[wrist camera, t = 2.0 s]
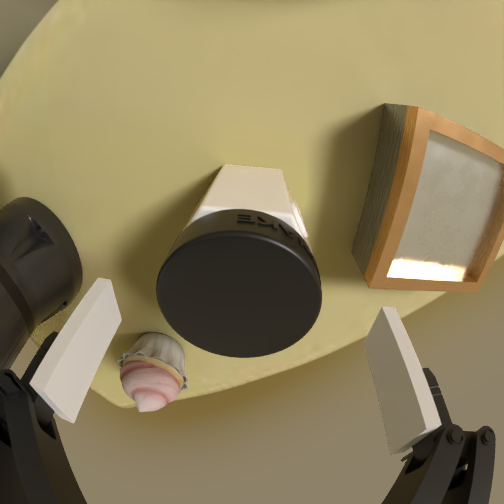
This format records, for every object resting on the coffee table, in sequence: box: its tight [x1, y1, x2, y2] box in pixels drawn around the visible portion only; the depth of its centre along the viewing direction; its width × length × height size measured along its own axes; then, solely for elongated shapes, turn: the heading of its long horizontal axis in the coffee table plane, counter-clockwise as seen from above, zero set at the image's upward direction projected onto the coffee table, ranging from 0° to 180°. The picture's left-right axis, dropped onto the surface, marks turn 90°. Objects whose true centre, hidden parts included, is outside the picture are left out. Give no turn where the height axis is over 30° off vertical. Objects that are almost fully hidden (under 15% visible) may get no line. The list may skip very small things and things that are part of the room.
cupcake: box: [117, 332, 188, 412], centre depth 29 cm, size 9×9×10 cm
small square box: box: [352, 103, 504, 292], centre depth 19 cm, size 14×15×6 cm
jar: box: [156, 165, 322, 358], centre depth 18 cm, size 9×8×12 cm
